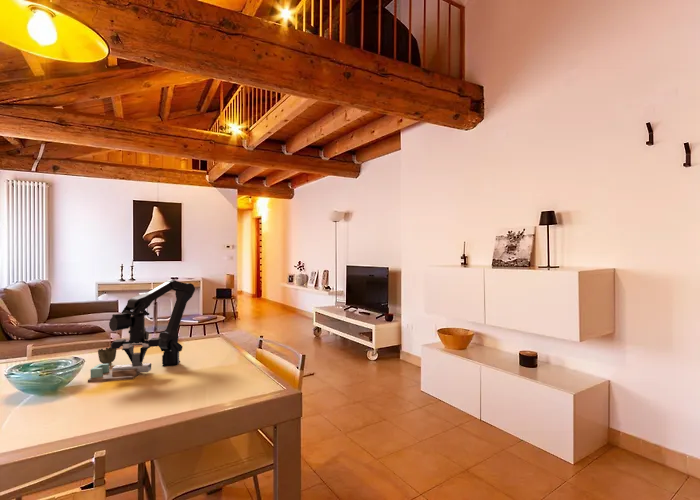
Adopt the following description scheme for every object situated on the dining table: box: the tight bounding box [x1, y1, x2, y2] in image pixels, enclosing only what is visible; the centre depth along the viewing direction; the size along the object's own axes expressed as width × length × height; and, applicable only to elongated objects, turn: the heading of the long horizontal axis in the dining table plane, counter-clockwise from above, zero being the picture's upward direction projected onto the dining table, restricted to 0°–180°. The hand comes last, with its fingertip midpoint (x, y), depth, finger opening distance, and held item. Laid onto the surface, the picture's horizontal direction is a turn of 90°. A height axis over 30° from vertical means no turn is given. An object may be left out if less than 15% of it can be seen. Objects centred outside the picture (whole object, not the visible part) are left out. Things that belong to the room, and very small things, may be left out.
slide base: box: [87, 369, 141, 383], centre depth 160 cm, size 17×13×3 cm
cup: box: [97, 346, 118, 367], centre depth 175 cm, size 8×7×8 cm
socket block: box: [90, 363, 110, 378], centre depth 159 cm, size 4×8×4 cm, turn 11°
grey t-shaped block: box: [111, 352, 152, 374], centre depth 161 cm, size 14×4×8 cm, turn 101°
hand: (137, 362), depth 162 cm, fingers closed on grey t-shaped block, 3 cm apart
